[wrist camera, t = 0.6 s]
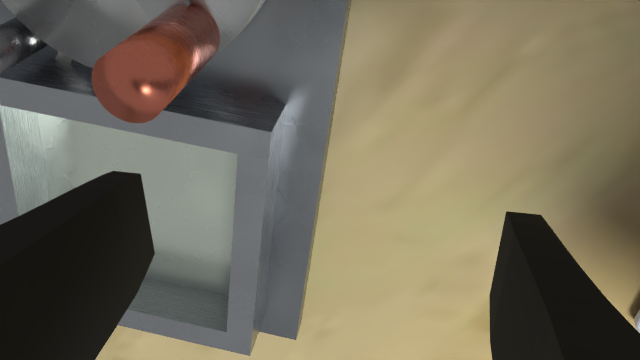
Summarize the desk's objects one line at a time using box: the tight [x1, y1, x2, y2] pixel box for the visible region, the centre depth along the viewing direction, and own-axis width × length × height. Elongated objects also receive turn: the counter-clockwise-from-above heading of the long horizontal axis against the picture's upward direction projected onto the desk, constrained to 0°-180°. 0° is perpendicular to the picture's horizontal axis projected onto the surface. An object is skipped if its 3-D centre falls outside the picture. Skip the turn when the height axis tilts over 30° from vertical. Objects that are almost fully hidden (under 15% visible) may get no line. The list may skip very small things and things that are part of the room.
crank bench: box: [0, 0, 351, 356], centre depth 19 cm, size 13×22×4 cm, turn 173°
